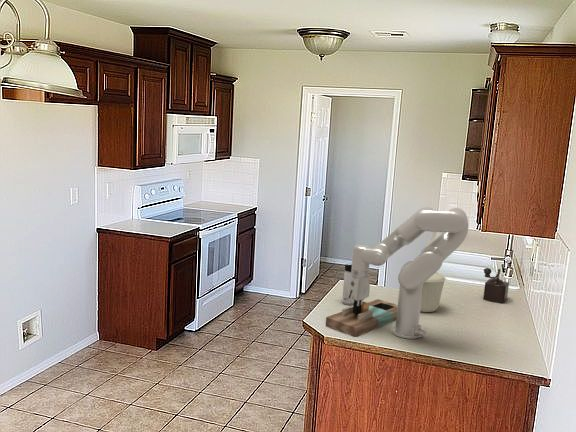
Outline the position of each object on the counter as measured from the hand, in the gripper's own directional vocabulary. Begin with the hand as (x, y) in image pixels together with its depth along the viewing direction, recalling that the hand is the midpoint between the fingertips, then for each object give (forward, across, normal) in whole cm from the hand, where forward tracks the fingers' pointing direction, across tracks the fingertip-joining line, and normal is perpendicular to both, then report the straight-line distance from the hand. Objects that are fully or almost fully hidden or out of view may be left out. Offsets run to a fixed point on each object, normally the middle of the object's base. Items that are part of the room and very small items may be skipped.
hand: (356, 313), depth 250 cm
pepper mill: (+6, +86, -26) cm, 90 cm away
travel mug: (+6, +21, +20) cm, 30 cm away
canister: (+6, +44, -8) cm, 45 cm away
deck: (+5, +9, 0) cm, 11 cm away
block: (+1, +4, +1) cm, 4 cm away
